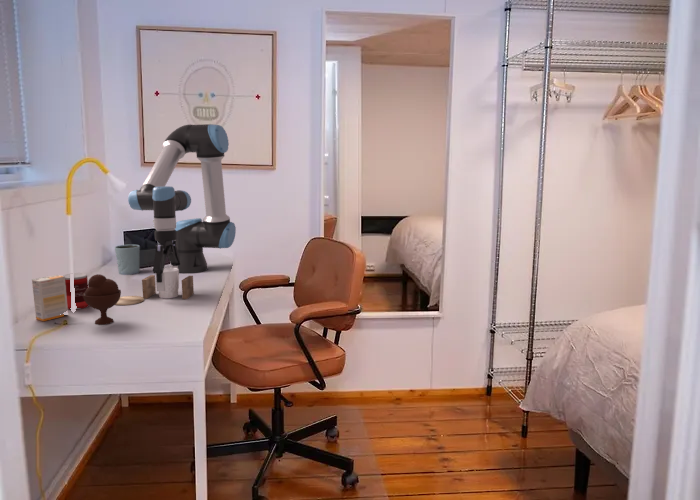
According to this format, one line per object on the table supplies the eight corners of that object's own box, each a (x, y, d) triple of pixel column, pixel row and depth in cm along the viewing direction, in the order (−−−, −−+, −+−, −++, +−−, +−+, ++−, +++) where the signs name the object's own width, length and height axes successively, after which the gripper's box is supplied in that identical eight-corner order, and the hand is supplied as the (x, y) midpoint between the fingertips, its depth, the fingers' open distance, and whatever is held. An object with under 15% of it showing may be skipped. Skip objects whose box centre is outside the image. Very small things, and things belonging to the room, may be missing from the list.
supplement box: (61, 313, 180) (57, 274, 178) (68, 315, 178) (65, 276, 175) (35, 319, 174) (31, 278, 171) (42, 321, 171) (38, 280, 169)
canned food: (71, 303, 192) (68, 272, 190) (93, 304, 192) (91, 273, 190) (59, 309, 185) (56, 277, 183) (82, 309, 184) (80, 277, 183)
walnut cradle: (151, 293, 207) (150, 275, 206) (193, 293, 207) (192, 275, 205) (143, 298, 199) (141, 279, 198) (186, 299, 199) (185, 280, 198)
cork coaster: (119, 297, 201) (119, 295, 201) (148, 297, 201) (148, 296, 201) (104, 305, 190) (104, 303, 190) (135, 305, 190) (135, 303, 190)
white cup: (173, 299, 198) (171, 272, 197) (153, 298, 200) (151, 271, 198) (183, 294, 206) (182, 268, 204) (164, 293, 208) (163, 267, 206)
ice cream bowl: (84, 329, 164) (80, 280, 161) (86, 319, 174) (82, 272, 171) (123, 325, 168) (120, 277, 165) (122, 315, 178) (119, 270, 176)
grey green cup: (144, 270, 249) (142, 244, 247) (136, 275, 239) (134, 248, 237) (121, 270, 249) (119, 244, 247) (112, 275, 239) (111, 248, 237)
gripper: (167, 225, 211) (170, 279, 215) (140, 233, 187) (143, 294, 190) (187, 225, 211) (189, 279, 214) (162, 233, 186) (165, 294, 190)
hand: (168, 286), depth 202 cm, fingers open, 13 cm apart
